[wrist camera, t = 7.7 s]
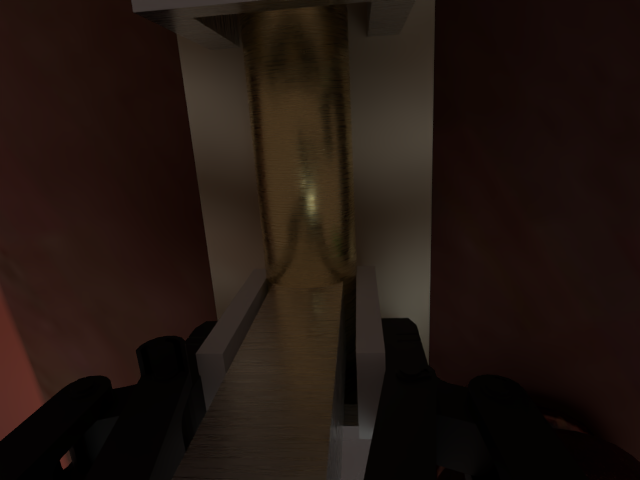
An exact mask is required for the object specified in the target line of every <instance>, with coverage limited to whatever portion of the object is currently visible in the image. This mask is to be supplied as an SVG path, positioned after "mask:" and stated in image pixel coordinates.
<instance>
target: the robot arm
mask: <svg viewBox="0 0 640 480" xmlns="http://www.w3.org/2000/svg"><path fill="white" fill-rule="evenodd" d="M267 294H268V289H267V279H266V270H265V269H254V270H253V271H252V273H251V274H250V276H249V277H248V279H247V280H246V282H245V283H244V284H243V286H242V287H241V289H240V290H239V292H238V293H237V295H236V296H235V297H234V299H233V300H232V302H231V303H230V305H229V306H228V308H227V309H226V310H225V312H224V313H223V315H222V316H221V318H220V319H219V321H206V322H204V323H203V324H201V325H200V326H198V327H197V328H195V329H194V331H193V332H192V333H191V335H190V336H189V338H187V340H186V341H185V340H184V339H183V338H181V337H177V336H164V337H158V338H155V339H152V340H150V341H147V342H146V343H144V344H142V345H141V346H140V347H139V348H138V349H137V350H136V354H137V358H138V363H139V368H140V373H141V378H140V380H139V381H138V383H137V384H135V385H131V386H126V387H121V388H116V389H112V385H111V381H110V380H109V379H108V378H107V377H105V376H88V377H86V378H85V377H84V378H81V379H78V380H77V381H75V382H73V383H70V384H69V385H67V386H66V387H64V388H63V389H61V390H60V391H59V392H58V393H57V394H56V395H54V396H53V397H52V398H51V399H50V400H48V401H47V402H46V403H45V404H44V405H43V406H41V407H40V408H39V409H38V410H37V411H36V412H34V413H33V414H32V415H31V416H30V417H28V418H27V419H26V420H25V421H24V422H22V423H21V424H20V425H19V426H18V427H17V428H15V429H14V430H13V431H12V432H11V433H9V434H8V435H7V436H6V437H5V438H3V439H2V440H1V441H0V480H172V478H173V476H174V474H175V472H176V470H177V468H178V466H179V464H180V462H181V460H182V458H183V457H184V455H185V453H186V451H187V449H188V447H189V445H190V443H191V441H192V439H193V437H194V435H195V433H196V431H197V429H198V427H199V426H200V424H201V422H202V420H203V418H204V416H205V414H206V412H207V410H208V408H209V406H210V404H211V402H212V400H213V398H214V397H215V395H216V393H217V391H218V389H219V387H220V385H221V383H222V381H223V379H224V377H225V375H226V373H227V371H228V369H229V368H230V366H231V364H232V362H233V360H234V358H235V356H236V354H237V352H238V350H239V348H240V346H241V344H242V342H243V340H244V339H245V337H246V335H247V333H248V331H249V329H250V327H251V325H252V323H253V321H254V319H255V317H256V315H257V313H258V311H259V310H260V308H261V306H262V304H263V302H264V300H265V298H266V296H267ZM356 368H357V393H358V418H359V439H372V440H371V445H370V450H369V455H368V460H367V465H366V470H365V475H364V480H436V465H438V466H442V467H445V468H448V469H452V470H455V471H459V472H462V473H464V474H465V479H466V480H589V479H588V477H587V476H586V474H585V473H584V472H583V470H582V469H581V468H580V466H579V465H578V463H577V462H576V461H575V459H574V458H573V456H572V455H571V454H570V452H569V451H568V449H567V448H566V447H565V445H564V444H563V442H562V441H561V440H560V438H559V437H558V435H557V434H556V433H555V431H554V430H553V428H552V427H551V426H550V424H549V423H548V422H547V420H546V419H545V417H544V416H543V415H542V413H541V412H540V410H539V409H538V408H537V406H536V405H535V403H534V402H533V401H532V399H531V398H530V396H529V395H528V394H527V392H526V391H525V390H524V389H523V388H522V387H521V386H520V385H519V384H518V383H516V382H514V381H512V380H511V379H509V378H505V377H502V376H498V375H481V376H477V377H475V378H473V379H472V380H471V381H470V383H469V385H468V388H467V387H462V386H457V385H453V384H450V383H447V382H445V381H442V380H440V379H439V378H437V377H436V374H435V371H434V370H433V369H432V368H431V367H430V366H429V365H428V362H427V359H426V356H425V352H424V349H423V345H422V342H421V338H420V335H419V331H418V328H417V325H416V324H415V323H414V322H413V321H411V320H410V319H409V318H381V314H380V305H379V297H378V289H377V280H376V272H375V266H357V275H356ZM68 450H69V452H70V456H71V459H72V462H71V463H70V464H69V466H68V467H66V468H65V469H64V470H63V468H62V467H61V463H60V459H61V458H62V457H63V456H64V455H65V454H66V452H67V451H68Z"/></svg>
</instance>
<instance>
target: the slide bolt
mask: <svg viewBox="0 0 640 480" xmlns="http://www.w3.org/2000/svg"><path fill="white" fill-rule="evenodd" d="M239 18H240V28H241V37H242V47H243V57H244V66H245V76H246V86H247V95H248V105H249V115H250V124H251V134H252V144H253V153H254V163H255V173H256V183H257V192H258V202H259V212H260V221H261V231H262V241H263V250H264V260H265V270H266V279H267V289H268V294H267V296H266V298H265V300H264V302H263V304H262V306H261V308H260V310H259V311H258V313H257V315H256V317H255V319H254V321H253V323H252V325H251V327H250V329H249V331H248V333H247V335H246V337H245V339H244V340H243V342H242V344H241V346H240V348H239V350H238V352H237V354H236V356H235V358H234V360H233V362H232V364H231V366H230V368H229V369H228V371H227V373H226V375H225V377H224V379H223V381H222V383H221V385H220V387H219V389H218V391H217V393H216V395H215V397H214V398H213V400H212V402H211V404H210V406H209V408H208V410H207V412H206V414H205V416H204V418H203V420H202V422H201V424H200V426H199V427H198V429H197V431H196V433H195V435H194V437H193V439H192V441H191V443H190V445H189V447H188V449H187V451H186V453H185V455H184V457H183V458H182V460H181V462H180V464H179V466H178V468H177V470H176V472H175V474H174V476H173V478H172V480H341V466H342V444H343V422H344V404H358V393H357V368H356V275H357V259H356V231H355V204H354V176H353V149H352V121H351V94H350V66H349V39H348V12H347V4H337V5H326V6H315V7H304V8H293V9H282V10H271V11H260V12H250V13H239Z"/></svg>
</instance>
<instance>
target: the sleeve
mask: <svg viewBox="0 0 640 480" xmlns="http://www.w3.org/2000/svg"><path fill="white" fill-rule="evenodd" d="M415 1H416V0H131V2H132V7H133V12H134V13H136V14H138V15H140V16H142V17H144V18H146V19H148V20H150V21H152V22H154V23H156V24H158V25H160V26H162V27H164V28H167V29H169V30H171V31H173V32H175V33H177V34H179V35H181V36H183V37H185V38H187V39H189V40H191V41H193V42H195V43H197V44H199V45H202V46H204V47H206V48H208V49H210V50H216V49H228V48H240V43H239V33H238V24H237V14H239V13H250V12H260V11H271V10H282V9H293V8H304V7H315V6H326V5H337V4H348V3H359V2H367V35H368V37H372V36H385V35H397V34H400V32H401V30H402V28H403V26H404V24H405V22H406V20H407V18H408V16H409V14H410V12H411V10H412V7H413V5H414V3H415Z"/></svg>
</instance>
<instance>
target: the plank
mask: <svg viewBox="0 0 640 480" xmlns="http://www.w3.org/2000/svg"><path fill="white" fill-rule="evenodd" d="M347 12H348V39H349V66H350V94H351V121H352V149H353V176H354V204H355V231H356V259H357V266H375V272H376V280H377V289H378V297H379V305H380V314H381V318H409V319H410V320H411V321H413V322H414V323H415V324H416V325H417V328H418V331H419V335H420V338H421V342H422V345H423V349H424V352H425V356H426V359H427V362H428V365H429V318H430V261H431V203H432V145H433V88H434V30H435V0H416V1H415V3H414V5H413V7H412V10H411V12H410V14H409V16H408V18H407V20H406V22H405V24H404V26H403V28H402V30H401V32H400V34H397V35H385V36H372V37H368V35H367V2H359V3H348V4H347ZM237 24H238V33H239V43H240V48H228V49H216V50H210V49H208V48H206V47H204V46H202V45H199V44H197V43H195V42H193V41H191V40H189V39H187V38H185V37H183V36H181V35H179V34H177V33H176V34H177V40H178V47H179V54H180V61H181V68H182V75H183V82H184V89H185V96H186V103H187V110H188V117H189V124H190V131H191V138H192V145H193V152H194V159H195V166H196V173H197V180H198V187H199V194H200V200H201V207H202V214H203V221H204V228H205V235H206V242H207V249H208V256H209V263H210V270H211V277H212V284H213V291H214V298H215V305H216V312H217V319H218V321H219V319H220V318H221V316H222V315H223V313H224V312H225V310H226V309H227V308H228V306H229V305H230V303H231V302H232V300H233V299H234V297H235V296H236V295H237V293H238V292H239V290H240V289H241V287H242V286H243V284H244V283H245V282H246V280H247V279H248V277H249V276H250V274H251V273H252V271H253V270H254V269H265V260H264V250H263V241H262V231H261V221H260V212H259V202H258V192H257V183H256V173H255V163H254V153H253V144H252V134H251V124H250V115H249V105H248V95H247V86H246V76H245V66H244V57H243V47H242V37H241V28H240V18H239V14H237Z"/></svg>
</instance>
